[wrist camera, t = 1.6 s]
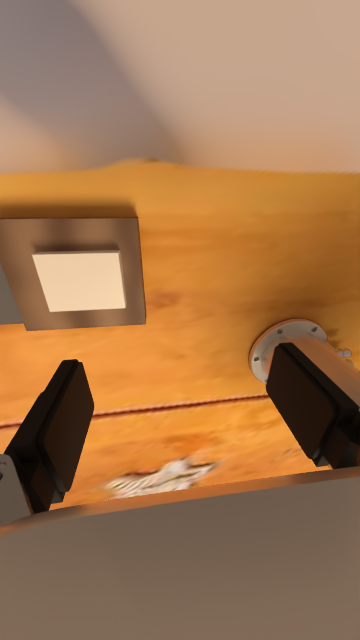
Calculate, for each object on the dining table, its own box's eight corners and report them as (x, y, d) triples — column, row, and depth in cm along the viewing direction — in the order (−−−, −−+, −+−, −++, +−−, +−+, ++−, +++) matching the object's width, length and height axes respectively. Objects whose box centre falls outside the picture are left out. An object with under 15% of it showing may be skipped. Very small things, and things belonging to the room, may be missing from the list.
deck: (138, 217, 23) (136, 218, 21) (146, 315, 29) (145, 324, 27) (0, 218, 22) (-17, 219, 20) (36, 321, 28) (26, 331, 25)
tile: (120, 250, 22) (118, 252, 21) (126, 302, 25) (125, 308, 24) (39, 252, 22) (31, 254, 20) (55, 306, 24) (49, 311, 23)
